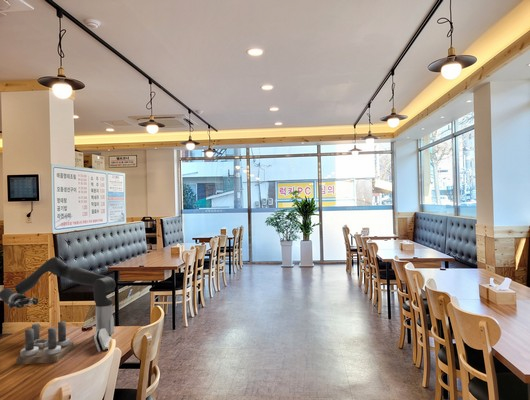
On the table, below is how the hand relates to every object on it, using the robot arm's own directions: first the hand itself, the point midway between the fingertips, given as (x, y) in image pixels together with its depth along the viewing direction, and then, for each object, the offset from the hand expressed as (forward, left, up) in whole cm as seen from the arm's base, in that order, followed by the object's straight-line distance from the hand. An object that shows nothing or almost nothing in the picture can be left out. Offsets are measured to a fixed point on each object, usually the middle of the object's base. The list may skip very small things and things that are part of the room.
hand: (27, 304), depth 214 cm
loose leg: (-8, +8, -21) cm, 24 cm away
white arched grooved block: (-45, +12, -22) cm, 51 cm away
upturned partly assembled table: (-20, +22, -21) cm, 36 cm away
